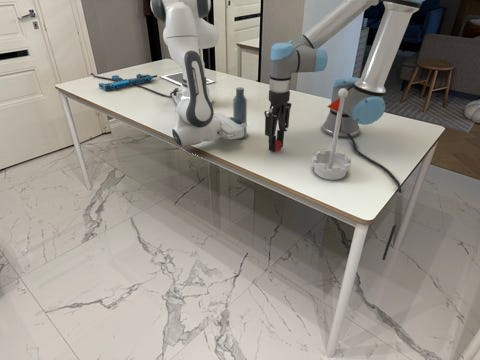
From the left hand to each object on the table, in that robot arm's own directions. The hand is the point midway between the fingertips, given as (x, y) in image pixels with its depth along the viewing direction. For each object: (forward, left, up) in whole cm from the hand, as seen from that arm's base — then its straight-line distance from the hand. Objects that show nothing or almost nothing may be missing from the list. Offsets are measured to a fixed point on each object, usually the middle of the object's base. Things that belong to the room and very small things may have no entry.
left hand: (241, 121), depth 142 cm
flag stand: (+42, +11, -7) cm, 44 cm away
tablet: (-87, +13, -7) cm, 88 cm away
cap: (+19, +4, -3) cm, 20 cm away
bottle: (0, -1, -7) cm, 7 cm away
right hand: (+19, +4, -5) cm, 20 cm away
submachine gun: (-100, -21, -7) cm, 103 cm away
